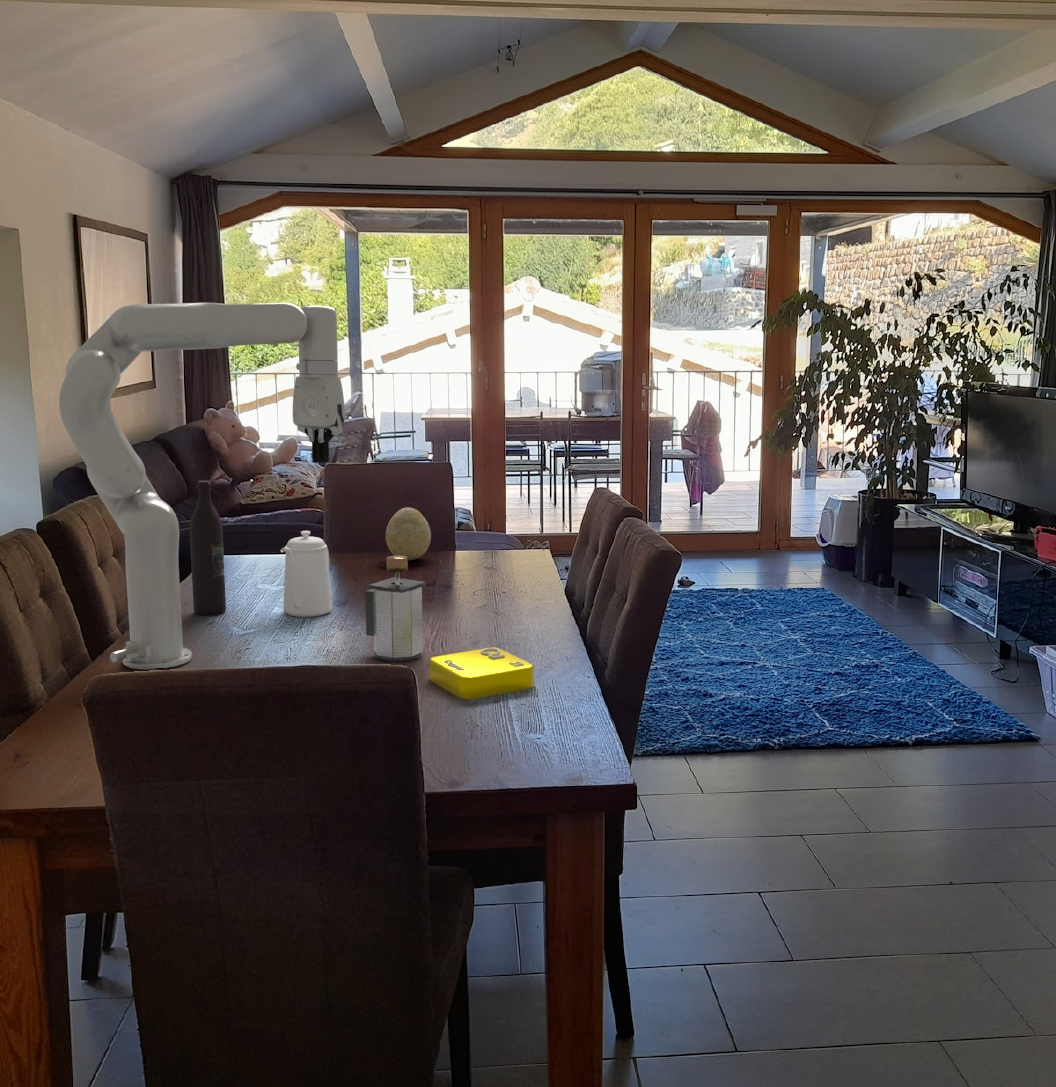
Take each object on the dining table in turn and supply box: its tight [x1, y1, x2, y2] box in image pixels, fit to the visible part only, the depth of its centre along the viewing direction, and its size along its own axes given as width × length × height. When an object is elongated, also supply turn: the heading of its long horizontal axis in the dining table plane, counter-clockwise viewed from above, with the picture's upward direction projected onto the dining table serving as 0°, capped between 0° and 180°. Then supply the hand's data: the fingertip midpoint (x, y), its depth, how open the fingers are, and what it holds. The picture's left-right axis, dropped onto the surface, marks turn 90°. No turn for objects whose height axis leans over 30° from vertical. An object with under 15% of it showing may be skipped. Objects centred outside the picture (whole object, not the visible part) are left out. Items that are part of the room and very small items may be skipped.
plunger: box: [386, 555, 409, 585], centre depth 211 cm, size 7×7×14 cm
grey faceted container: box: [364, 577, 427, 663], centre depth 212 cm, size 9×12×15 cm
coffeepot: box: [280, 530, 333, 618], centre depth 245 cm, size 11×25×19 cm, turn 168°
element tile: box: [429, 646, 534, 700], centre depth 197 cm, size 15×15×5 cm
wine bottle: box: [189, 480, 227, 617], centre depth 243 cm, size 7×7×30 cm
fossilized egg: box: [385, 507, 432, 561], centre depth 306 cm, size 13×13×15 cm
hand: (320, 461), depth 217 cm, fingers closed
